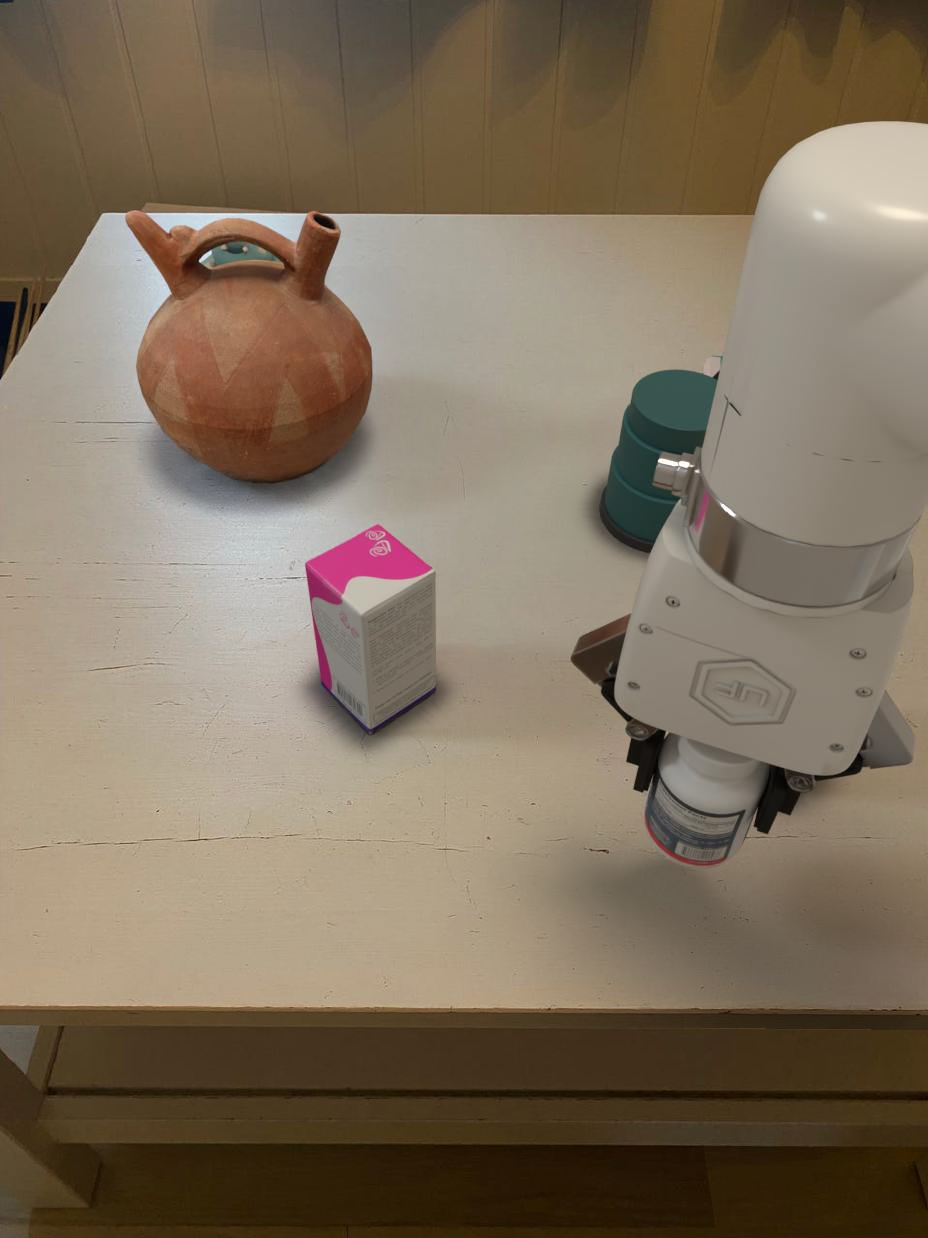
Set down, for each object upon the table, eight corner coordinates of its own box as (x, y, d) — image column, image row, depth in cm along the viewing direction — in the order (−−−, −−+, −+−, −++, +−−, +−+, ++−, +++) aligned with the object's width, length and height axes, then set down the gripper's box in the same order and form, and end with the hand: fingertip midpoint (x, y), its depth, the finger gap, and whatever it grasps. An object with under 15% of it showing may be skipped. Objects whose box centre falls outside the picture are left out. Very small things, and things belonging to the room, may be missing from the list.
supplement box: (439, 689, 64) (439, 570, 55) (369, 737, 61) (357, 619, 52) (386, 640, 66) (378, 519, 58) (317, 683, 64) (298, 563, 55)
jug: (135, 510, 75) (58, 275, 60) (186, 378, 87) (132, 155, 72) (367, 517, 75) (347, 283, 60) (386, 384, 87) (373, 161, 72)
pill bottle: (687, 766, 52) (718, 664, 46) (764, 830, 49) (808, 732, 43) (621, 821, 50) (643, 722, 43) (697, 892, 47) (734, 797, 41)
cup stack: (728, 493, 77) (762, 378, 69) (702, 568, 72) (736, 452, 63) (618, 464, 80) (638, 349, 72) (584, 534, 74) (601, 419, 66)
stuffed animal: (155, 273, 89) (192, 193, 95) (176, 332, 95) (210, 253, 101) (266, 283, 88) (296, 202, 94) (280, 342, 94) (307, 262, 100)
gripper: (535, 519, 33) (517, 793, 47) (1061, 658, 29) (875, 916, 42) (597, 403, 38) (565, 682, 52) (1059, 508, 34) (892, 784, 47)
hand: (706, 786), depth 47 cm, fingers closed on pill bottle, 5 cm apart
